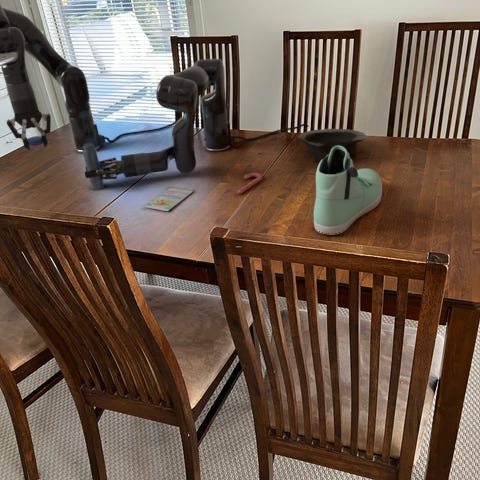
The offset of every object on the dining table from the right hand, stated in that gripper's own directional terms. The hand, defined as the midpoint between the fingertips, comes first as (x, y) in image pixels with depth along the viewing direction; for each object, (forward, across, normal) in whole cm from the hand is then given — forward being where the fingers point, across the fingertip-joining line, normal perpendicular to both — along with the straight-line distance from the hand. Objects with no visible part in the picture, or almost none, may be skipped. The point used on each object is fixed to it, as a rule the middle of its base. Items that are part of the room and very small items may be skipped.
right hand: (85, 172), depth 161 cm
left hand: (+15, -8, -8) cm, 18 cm away
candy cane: (-52, +17, +6) cm, 55 cm away
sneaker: (-76, +43, +6) cm, 87 cm away
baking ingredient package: (-26, +19, +6) cm, 32 cm away
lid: (+15, -8, -11) cm, 20 cm away
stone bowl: (-86, +2, +6) cm, 87 cm away
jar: (-3, 0, +6) cm, 7 cm away
